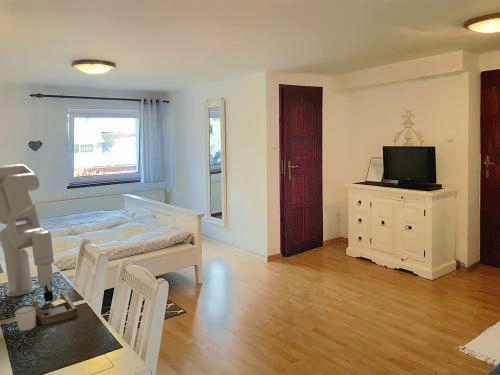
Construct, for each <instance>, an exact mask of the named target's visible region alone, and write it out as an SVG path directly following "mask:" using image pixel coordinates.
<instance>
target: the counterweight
mask: <svg viewBox="0 0 500 375" xmlns="http://www.w3.org/2000/svg"><path fill="white" fill-rule="evenodd" d="M65 310H67V308H65V306H61V307H58V308H54V309H50V308H49V309H48V310H47V313H48V314H47V315H51V314H55V313H58V312H62V311H65Z"/></svg>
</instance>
